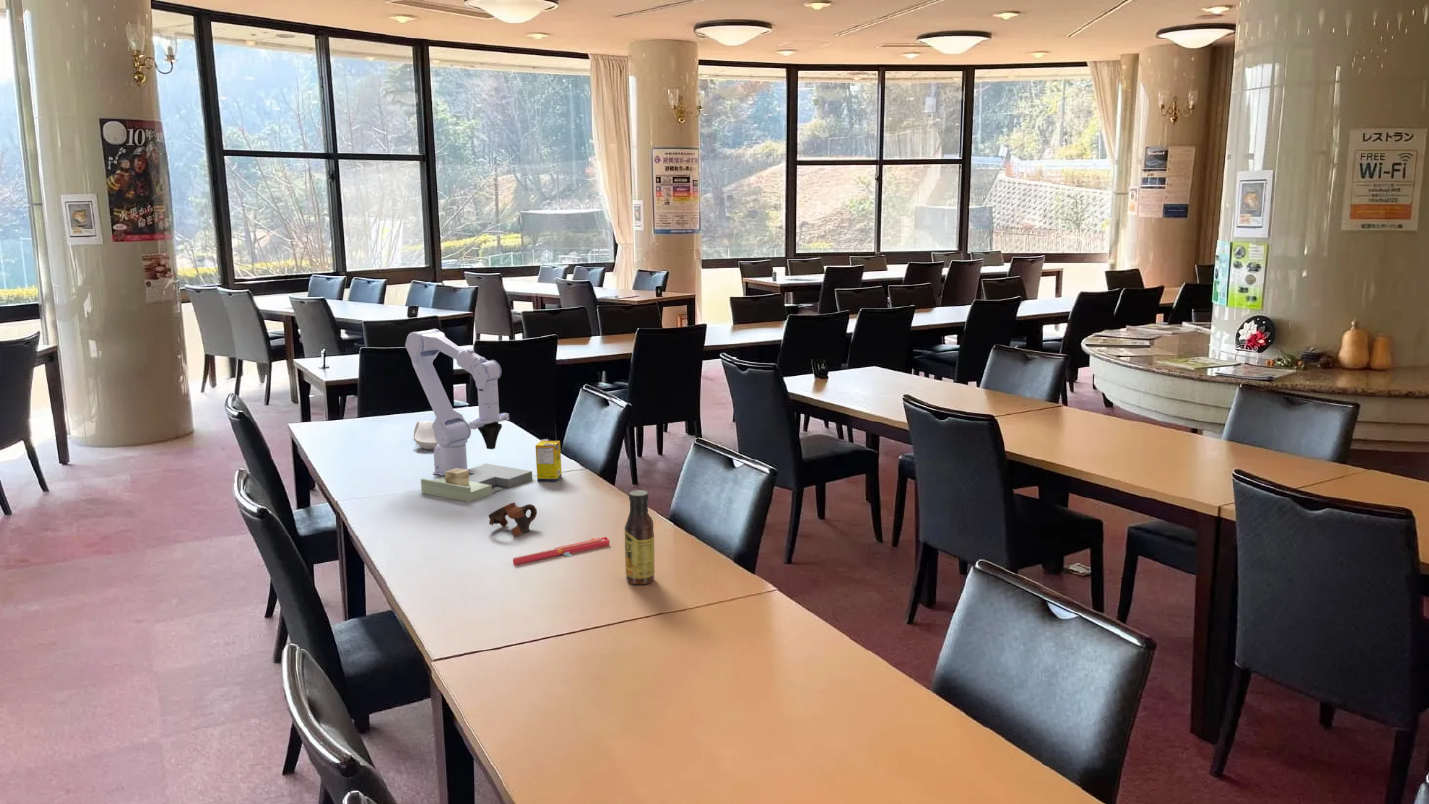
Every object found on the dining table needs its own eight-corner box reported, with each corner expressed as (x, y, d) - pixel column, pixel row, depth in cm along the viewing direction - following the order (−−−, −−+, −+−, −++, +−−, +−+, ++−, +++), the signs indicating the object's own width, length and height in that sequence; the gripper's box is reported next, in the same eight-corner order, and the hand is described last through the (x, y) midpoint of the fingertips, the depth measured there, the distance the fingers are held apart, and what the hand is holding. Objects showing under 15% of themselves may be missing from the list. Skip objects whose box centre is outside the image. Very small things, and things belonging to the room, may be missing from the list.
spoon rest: (456, 449, 335) (455, 428, 334) (420, 454, 330) (419, 432, 328) (436, 435, 355) (435, 415, 354) (402, 440, 349) (400, 419, 348)
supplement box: (562, 476, 301) (560, 440, 299) (556, 481, 295) (555, 445, 293) (542, 475, 301) (540, 440, 299) (536, 481, 295) (535, 445, 293)
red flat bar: (612, 551, 239) (603, 540, 243) (613, 544, 238) (604, 533, 242) (517, 572, 226) (509, 560, 230) (518, 565, 225) (510, 553, 229)
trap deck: (421, 492, 285) (420, 479, 284) (486, 471, 307) (485, 458, 306) (469, 502, 276) (468, 487, 275) (532, 479, 298) (531, 466, 297)
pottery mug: (505, 542, 244) (490, 512, 245) (495, 549, 252) (480, 519, 253) (548, 521, 250) (532, 491, 251) (537, 528, 258) (522, 499, 259)
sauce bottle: (625, 575, 220) (623, 487, 216) (654, 574, 221) (652, 486, 217) (625, 587, 214) (623, 496, 210) (655, 586, 214) (653, 495, 211)
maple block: (445, 485, 283) (444, 471, 282) (457, 481, 287) (456, 467, 286) (457, 487, 281) (456, 473, 280) (469, 483, 284) (468, 469, 284)
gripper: (481, 408, 285) (483, 455, 288) (516, 399, 297) (518, 444, 300) (462, 406, 288) (465, 452, 291) (497, 397, 301) (500, 442, 303)
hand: (490, 448), depth 296 cm, fingers closed
